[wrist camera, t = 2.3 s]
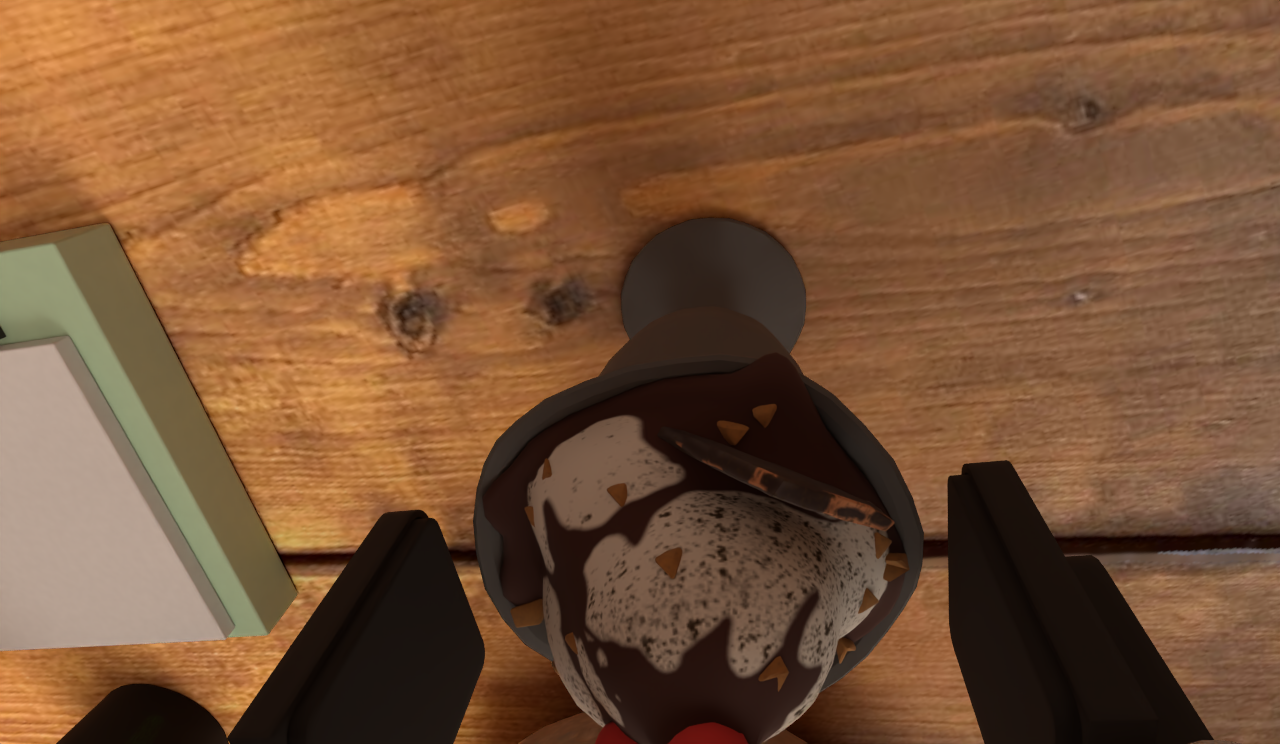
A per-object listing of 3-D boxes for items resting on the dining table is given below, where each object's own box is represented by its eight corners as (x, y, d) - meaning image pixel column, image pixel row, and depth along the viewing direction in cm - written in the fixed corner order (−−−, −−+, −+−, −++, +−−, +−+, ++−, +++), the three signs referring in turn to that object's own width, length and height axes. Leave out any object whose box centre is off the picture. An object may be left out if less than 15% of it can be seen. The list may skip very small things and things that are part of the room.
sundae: (657, 445, 22) (532, 1122, 9) (548, 247, 20) (152, 770, 6) (874, 368, 20) (1133, 1090, 7) (782, 138, 18) (909, 564, 4)
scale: (-233, 283, 23) (-339, 315, 21) (109, 221, 21) (32, 249, 19) (10, 612, 29) (-52, 664, 27) (299, 594, 27) (258, 649, 25)
